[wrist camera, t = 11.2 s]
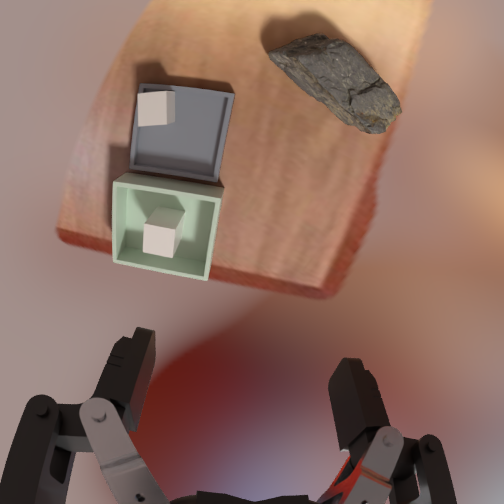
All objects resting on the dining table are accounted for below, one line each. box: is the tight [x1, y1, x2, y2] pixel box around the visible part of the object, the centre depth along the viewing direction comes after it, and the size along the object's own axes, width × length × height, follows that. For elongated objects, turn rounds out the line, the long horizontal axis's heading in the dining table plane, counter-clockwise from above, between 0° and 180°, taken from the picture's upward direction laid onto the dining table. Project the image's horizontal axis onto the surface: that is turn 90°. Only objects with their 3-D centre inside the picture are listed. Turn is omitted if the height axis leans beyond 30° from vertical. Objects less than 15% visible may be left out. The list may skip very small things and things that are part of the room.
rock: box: [269, 33, 402, 134], centre depth 29 cm, size 17×7×10 cm
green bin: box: [112, 172, 224, 281], centre depth 39 cm, size 12×14×4 cm
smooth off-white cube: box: [138, 91, 175, 127], centre depth 31 cm, size 4×4×4 cm
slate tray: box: [129, 83, 235, 182], centre depth 34 cm, size 12×12×2 cm
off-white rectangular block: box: [143, 206, 185, 258], centre depth 38 cm, size 4×4×6 cm
